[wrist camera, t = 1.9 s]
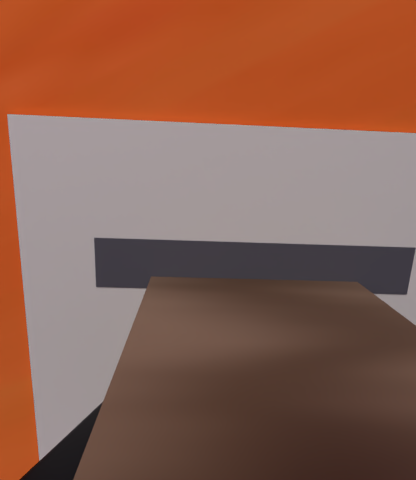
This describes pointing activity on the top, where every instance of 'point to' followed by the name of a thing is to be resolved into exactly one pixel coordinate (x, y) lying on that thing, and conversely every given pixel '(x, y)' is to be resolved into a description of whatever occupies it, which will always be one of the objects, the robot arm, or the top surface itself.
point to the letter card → (190, 229)
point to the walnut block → (259, 385)
